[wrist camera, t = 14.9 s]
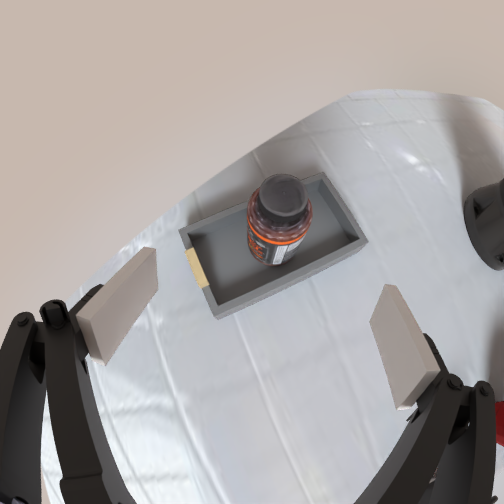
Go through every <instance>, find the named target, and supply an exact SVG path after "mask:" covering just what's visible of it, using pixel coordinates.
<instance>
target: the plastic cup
mask: <svg viewBox="0 0 504 504" xmlns="http://www.w3.org/2000/svg"><path fill="white" fill-rule="evenodd" d="M495 413H496V443H498V444H500V445H502V446H503V447H504V401H501V402H496V403H495Z"/></svg>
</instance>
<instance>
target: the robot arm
mask: <svg viewBox="0 0 504 504" xmlns="http://www.w3.org/2000/svg"><path fill="white" fill-rule="evenodd" d="M464 215H465V222H466V227H467V231H468V234H469V236H470V239H471V241H472V244H473V246H474V248H475V249H476V251H477V253H478V254H479V256H480V257H481V259H482V260H483V261H484V262H485V263H486V264H487V265H488V266H489V267H491V268H492V269H495V270H503V269H504V179H502V180H501V181H500V182H498V183H495V184H492V185H488V186H485V187H482V188H479V189H477V190H475V191H474V192H473V193H472V194H471V195H470V196H469V197H468V198H467V200H466V202H465V208H464ZM157 290H158V279H157V263H156V249H154V248H148V247H143V248H142V249H141V250H140V251H139V252H138V253H137V254H136V255H135V256H134V257H133V258H132V259H131V260H129V261H128V262H127V263H126V264H125V265H124V266H123V267H122V268H121V269H120V270H119V271H118V272H117V273H116V274H115V275H114V276H113V277H112V278H111V279H110V280H109V281H108V282H107V283H106V284H105V285H102V284H99V285H97V286H95V287H93V288H92V289H91V290H90V291H89V292H88V293H87V294H86V296H84V297H83V298H82V299H81V300H80V301H79V302H78V303H77V304H76V305H75V306H74V307H73V308H72V309H71V310H70V311H69V312H68V311H67V308H66V304H65V303H64V302H63V301H62V300H51V301H48V302H46V303H45V304H43V305H42V306H41V308H40V311H39V312H40V314H41V317H42V320H43V322H36V321H35V318H34V316H33V314H32V313H30V312H22V313H19V314H18V315H17V316H15V317H14V319H13V321H12V322H11V325H10V327H9V329H8V332H7V334H6V336H5V339H4V341H3V344H2V346H1V349H0V504H41V435H42V422H43V412H44V404H45V397H46V390H47V395H48V404H49V412H50V419H51V425H52V430H53V436H54V441H55V445H56V450H57V454H58V458H59V462H60V466H61V470H62V474H63V478H62V479H61V480H60V489H61V493H62V496H63V499H64V502H65V504H137V503H136V502H135V500H134V499H133V497H132V496H131V495H130V493H129V492H128V490H127V488H126V486H125V484H124V481H123V479H122V477H121V475H120V472H119V470H118V467H117V465H116V463H115V460H114V457H113V455H112V452H111V450H110V447H109V444H108V441H107V438H106V435H105V432H104V429H103V426H102V423H101V419H100V416H99V413H98V409H97V405H96V402H95V398H94V394H93V390H92V385H91V381H90V376H89V371H88V366H87V362H86V360H85V357H86V356H87V354H88V353H89V354H90V357H91V359H92V361H93V362H96V363H98V364H101V365H104V366H106V365H107V363H108V361H109V360H110V358H111V357H112V355H113V354H114V352H115V351H116V349H117V348H118V346H119V345H120V343H121V342H122V340H123V339H124V337H125V336H126V334H127V333H128V331H129V330H130V329H131V327H132V326H133V324H134V323H135V321H136V320H137V318H138V317H139V316H140V314H141V313H142V311H143V310H144V308H145V307H146V306H147V304H148V303H149V301H150V300H151V299H152V297H153V296H154V294H155V293H156V292H157ZM370 325H371V328H372V331H373V334H374V337H375V340H376V343H377V346H378V349H379V352H380V355H381V358H382V361H383V365H384V368H385V371H386V374H387V378H388V381H389V385H390V388H391V392H392V396H393V399H394V403H395V407H396V410H405V409H410V408H411V407H412V406H413V405H414V403H415V402H417V405H418V408H417V409H416V410H415V411H414V412H413V414H412V415H411V416H410V417H409V418H408V419H407V420H406V421H409V420H410V421H409V423H408V425H407V427H406V428H405V430H404V432H403V434H402V435H401V437H400V439H399V441H398V442H397V444H396V446H395V447H394V449H393V450H392V452H391V454H390V455H389V457H388V458H387V460H386V461H385V463H384V464H383V466H382V467H381V469H380V470H379V472H378V473H377V474H376V476H375V477H374V479H373V480H372V481H371V483H370V484H369V485H368V487H367V488H366V489H365V490H364V492H363V493H362V494H361V496H360V497H359V498H358V499H357V500H356V502H355V503H354V504H418V503H419V501H420V499H421V497H422V496H423V494H424V492H425V490H426V488H427V486H428V484H429V482H430V480H431V478H432V476H433V474H434V472H435V470H436V468H437V466H438V470H437V474H436V479H435V483H434V487H433V491H432V494H431V498H430V501H429V504H490V503H491V497H492V490H493V482H494V474H495V461H496V413H495V400H494V392H493V389H492V387H491V385H490V384H489V383H487V382H485V381H478V382H477V383H476V384H475V386H474V387H469V386H464V385H463V382H462V380H461V379H460V378H459V377H458V376H456V375H454V374H449V372H448V370H447V368H446V366H445V364H444V362H443V360H442V358H441V356H440V354H439V352H438V350H437V349H436V346H435V344H434V342H433V340H432V339H431V338H430V337H429V336H428V335H427V334H425V333H422V331H421V329H420V327H419V326H418V324H417V322H416V320H415V318H414V316H413V314H412V313H411V311H410V309H409V307H408V306H407V304H406V302H405V300H404V299H403V297H402V295H401V293H400V292H399V290H398V288H397V287H396V286H394V285H387V284H385V285H384V288H383V290H382V293H381V295H380V298H379V300H378V303H377V305H376V308H375V310H374V312H373V315H372V317H371V319H370ZM469 422H470V423H469ZM468 423H469V427H468ZM438 464H439V465H438Z"/></svg>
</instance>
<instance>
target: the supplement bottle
mask: <svg viewBox="0 0 504 504" xmlns="http://www.w3.org/2000/svg"><path fill="white" fill-rule="evenodd" d="M312 216H313V209H312V205H311V202H310V200H309V198H308V191H307V189H306V187H305V185H304V184H303V183H302V182H301V181H300V180H299V179H298V178H296V177H294V176H291V175H287V174H277V175H273V176H271V177H269V178H267V179H266V180H265V181H264V182H263V183H262V185H261V187H259V188H258V189H257V190H256V191H255V192H254V193H253V194H252V196H251V198H250V199H249V202H248V207H247V242H248V247H249V250H250V252H251V254H252V255H253V257H254V258H255V259H256V260H258V261H259V262H261V263H263V264H265V265H268V266H279V265H283V264H285V263H287V262H288V261H290V260H291V259H292V258H293V257H294V255H295V254H296V252H297V251H298V248H299V246H300V245H301V243H302V241H303V239H304V237H305V235H306V233H307V231H308V228H309V226H310V224H311V221H312Z"/></svg>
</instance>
